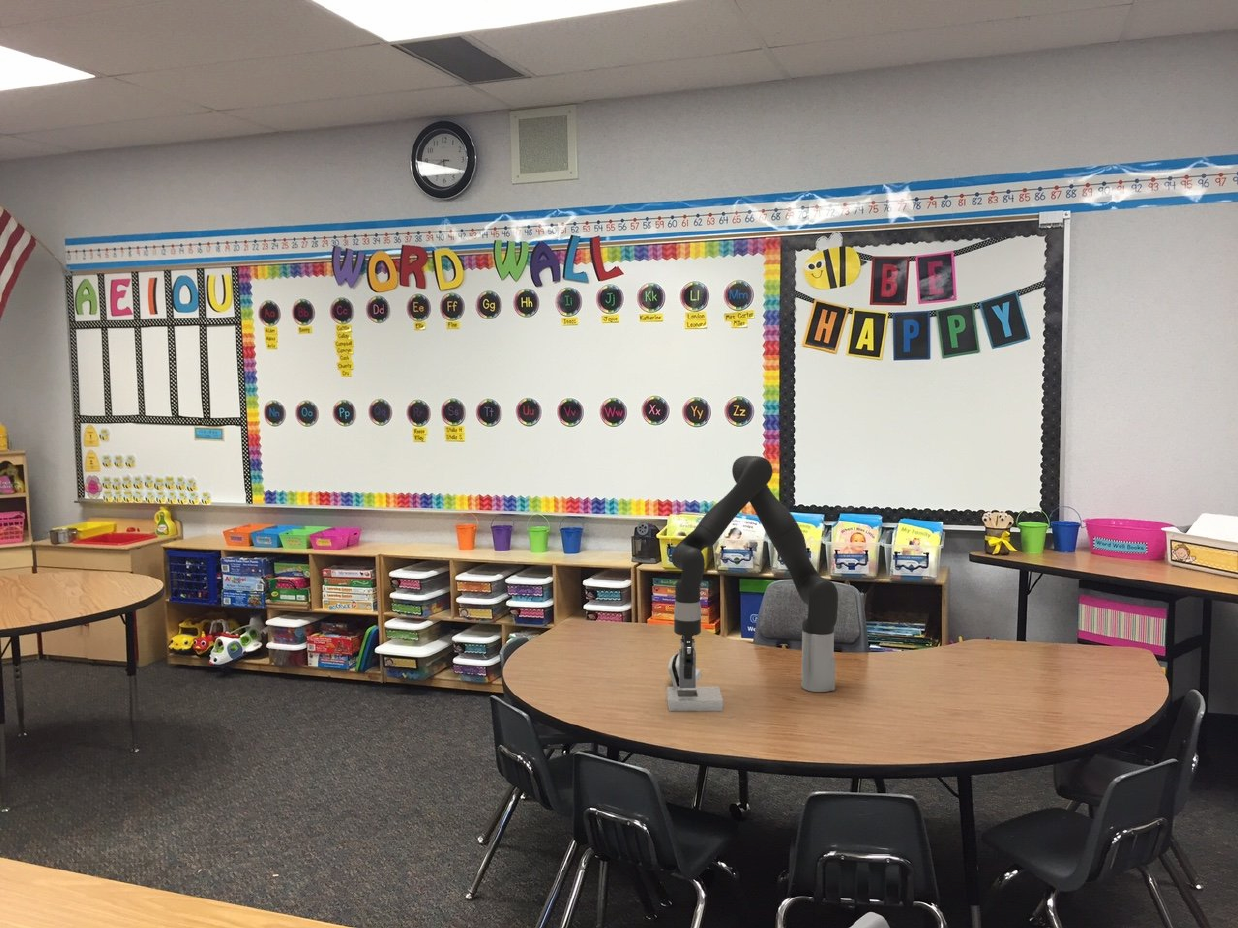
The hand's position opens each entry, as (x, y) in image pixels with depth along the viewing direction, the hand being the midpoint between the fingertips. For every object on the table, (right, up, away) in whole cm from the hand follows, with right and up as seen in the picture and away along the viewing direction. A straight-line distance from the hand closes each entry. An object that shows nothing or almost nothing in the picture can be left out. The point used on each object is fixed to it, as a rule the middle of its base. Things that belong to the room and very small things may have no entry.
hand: (687, 675), depth 266 cm
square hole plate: (+2, -8, +1) cm, 8 cm away
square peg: (0, -3, 0) cm, 3 cm away
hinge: (0, -7, +20) cm, 21 cm away
